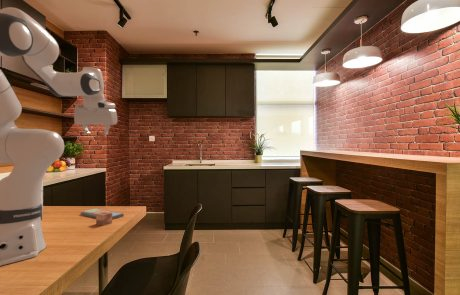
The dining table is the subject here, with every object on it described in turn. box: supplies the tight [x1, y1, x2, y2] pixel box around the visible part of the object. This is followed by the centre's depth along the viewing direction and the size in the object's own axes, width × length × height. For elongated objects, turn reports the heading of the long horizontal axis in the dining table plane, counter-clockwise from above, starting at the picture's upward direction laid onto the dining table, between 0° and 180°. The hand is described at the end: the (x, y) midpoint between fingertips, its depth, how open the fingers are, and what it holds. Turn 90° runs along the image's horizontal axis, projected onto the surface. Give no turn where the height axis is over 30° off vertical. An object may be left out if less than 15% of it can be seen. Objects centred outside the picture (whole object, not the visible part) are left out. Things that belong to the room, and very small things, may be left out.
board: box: [80, 208, 124, 220], centre depth 126 cm, size 9×20×2 cm, turn 62°
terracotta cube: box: [95, 212, 113, 226], centre depth 113 cm, size 4×4×4 cm
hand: (96, 134), depth 120 cm, fingers open, 8 cm apart
